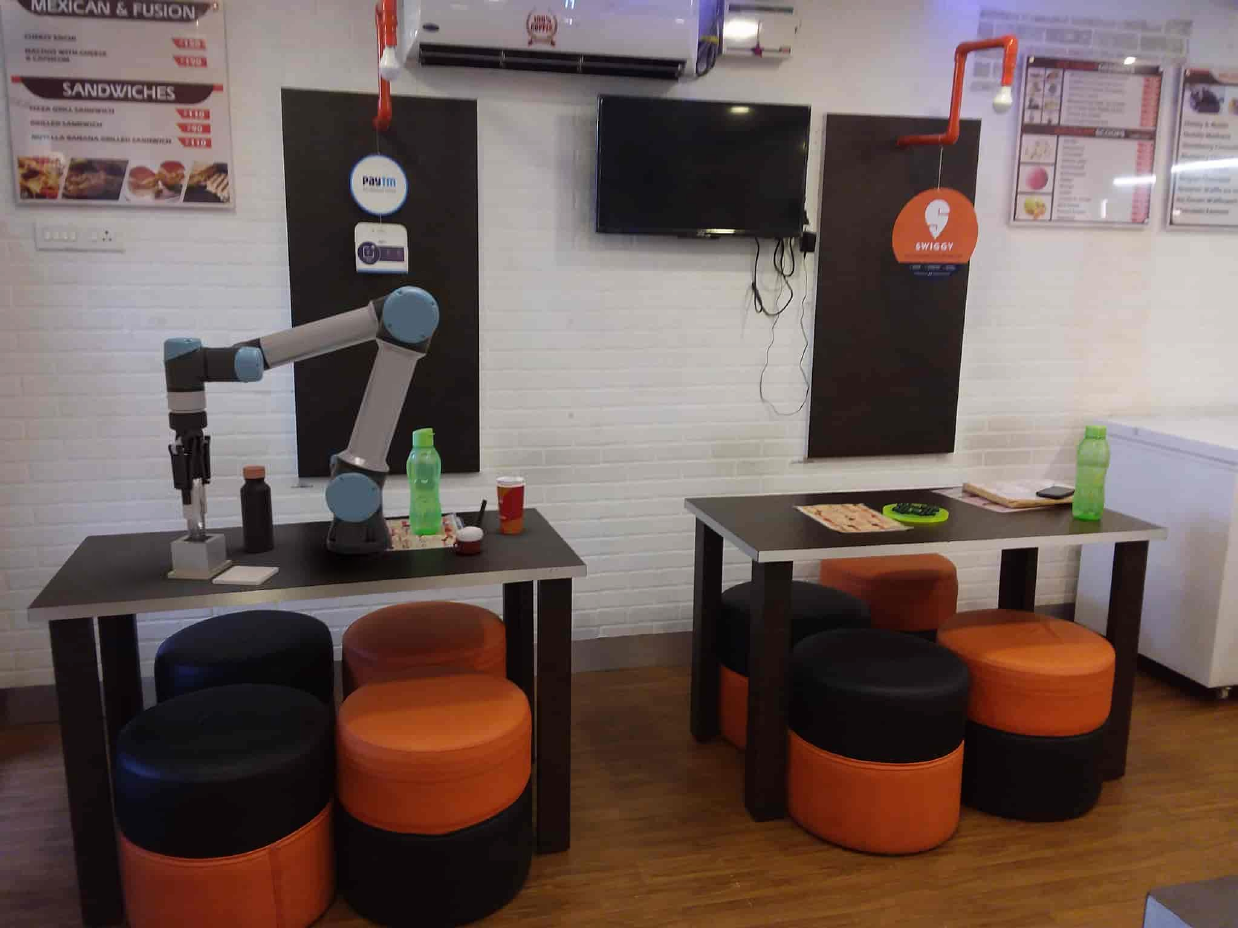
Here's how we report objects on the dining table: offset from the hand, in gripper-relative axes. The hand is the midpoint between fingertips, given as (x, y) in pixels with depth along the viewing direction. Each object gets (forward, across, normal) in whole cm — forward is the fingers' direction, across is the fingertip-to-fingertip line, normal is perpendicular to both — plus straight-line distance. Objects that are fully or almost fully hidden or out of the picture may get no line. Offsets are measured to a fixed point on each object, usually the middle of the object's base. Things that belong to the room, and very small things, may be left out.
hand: (195, 515), depth 207 cm
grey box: (+13, -2, 0) cm, 13 cm away
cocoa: (+13, -21, +56) cm, 61 cm away
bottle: (+13, -18, +5) cm, 23 cm away
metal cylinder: (+4, 0, 0) cm, 4 cm away
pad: (+13, +3, +12) cm, 18 cm away
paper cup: (+12, -40, +62) cm, 75 cm away
